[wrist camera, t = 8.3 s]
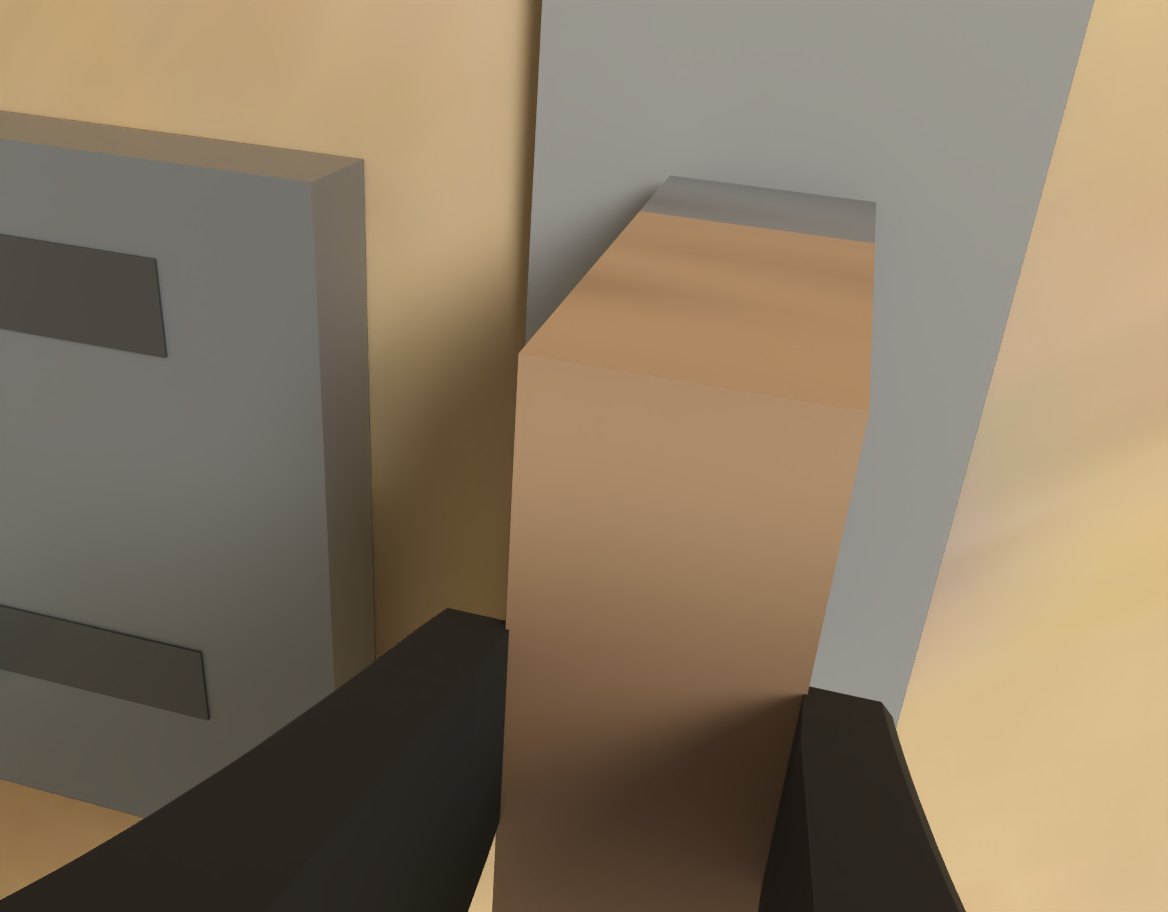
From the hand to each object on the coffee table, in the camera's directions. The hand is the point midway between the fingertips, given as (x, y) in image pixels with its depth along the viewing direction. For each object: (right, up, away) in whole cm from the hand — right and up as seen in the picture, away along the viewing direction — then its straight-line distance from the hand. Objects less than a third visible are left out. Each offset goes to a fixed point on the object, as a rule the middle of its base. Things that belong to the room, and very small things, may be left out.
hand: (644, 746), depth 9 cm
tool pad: (+2, +3, +6) cm, 7 cm away
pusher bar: (+1, +3, +5) cm, 6 cm away
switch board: (-8, +2, +9) cm, 12 cm away
